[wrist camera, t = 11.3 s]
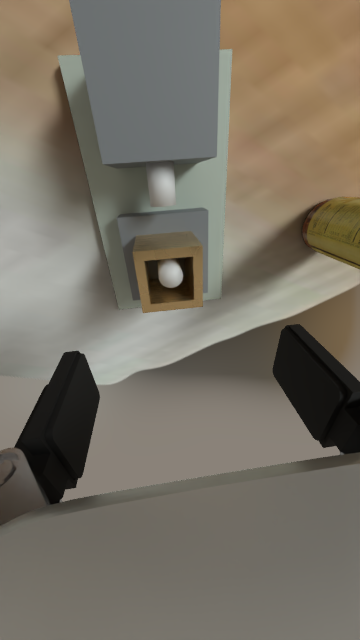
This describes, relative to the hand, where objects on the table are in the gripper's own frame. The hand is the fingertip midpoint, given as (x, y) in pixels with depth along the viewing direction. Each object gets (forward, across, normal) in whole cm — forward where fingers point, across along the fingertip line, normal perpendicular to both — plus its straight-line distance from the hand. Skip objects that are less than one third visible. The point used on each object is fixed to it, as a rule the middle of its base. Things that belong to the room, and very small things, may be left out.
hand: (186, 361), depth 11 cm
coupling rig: (+20, 0, -4) cm, 21 cm away
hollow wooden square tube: (+16, 0, 0) cm, 16 cm away
